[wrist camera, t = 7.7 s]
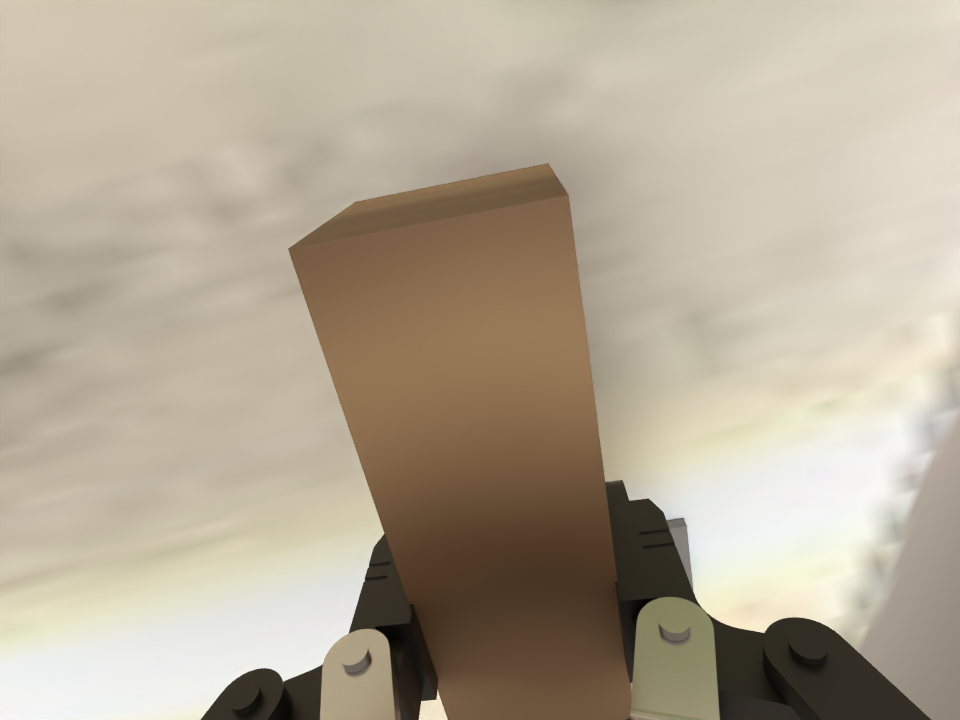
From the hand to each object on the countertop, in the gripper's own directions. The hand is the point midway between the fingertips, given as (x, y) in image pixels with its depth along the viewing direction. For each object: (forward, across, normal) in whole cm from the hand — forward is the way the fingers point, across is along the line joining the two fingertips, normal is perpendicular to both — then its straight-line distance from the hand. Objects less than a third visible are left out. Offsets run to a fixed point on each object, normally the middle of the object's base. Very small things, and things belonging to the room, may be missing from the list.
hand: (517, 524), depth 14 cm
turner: (+1, 0, +2) cm, 2 cm away
